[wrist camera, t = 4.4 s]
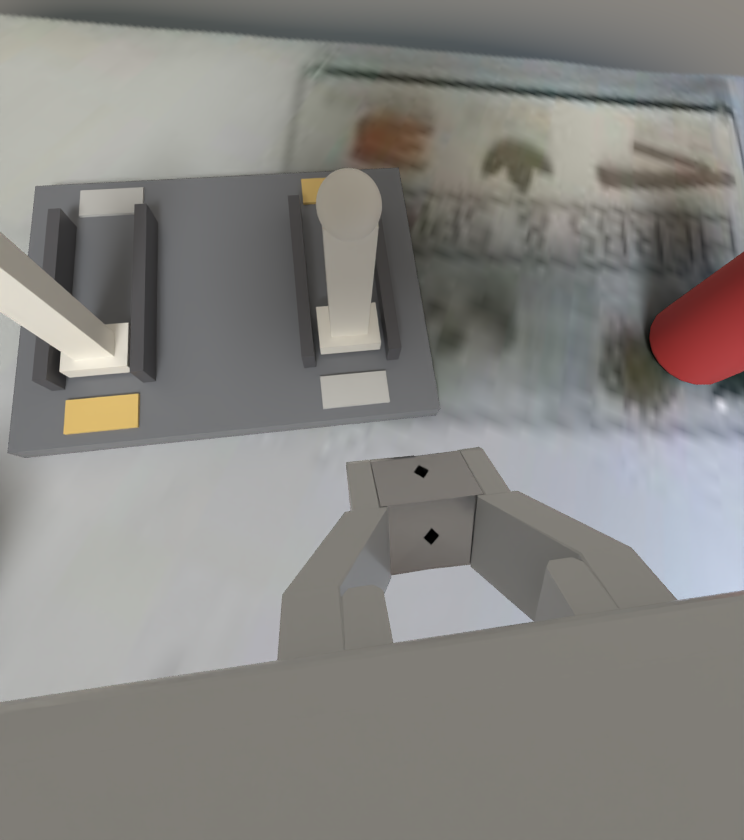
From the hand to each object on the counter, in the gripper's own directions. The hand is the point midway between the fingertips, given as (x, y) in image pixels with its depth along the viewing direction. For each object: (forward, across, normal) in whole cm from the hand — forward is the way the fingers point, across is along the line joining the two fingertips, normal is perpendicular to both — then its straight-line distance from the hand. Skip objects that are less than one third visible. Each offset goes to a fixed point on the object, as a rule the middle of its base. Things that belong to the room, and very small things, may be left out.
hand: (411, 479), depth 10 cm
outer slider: (+21, 0, +3) cm, 21 cm away
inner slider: (+21, +16, +3) cm, 26 cm away
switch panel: (+25, +8, +2) cm, 26 cm away
